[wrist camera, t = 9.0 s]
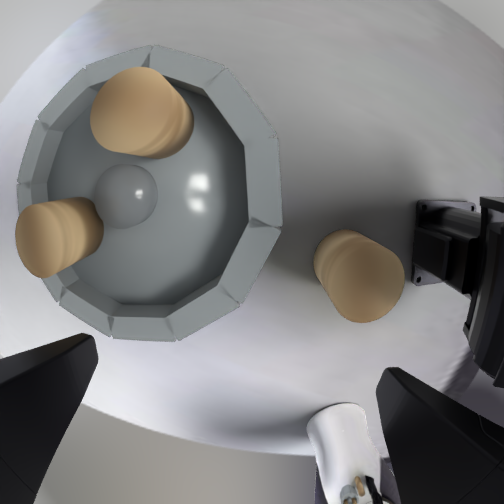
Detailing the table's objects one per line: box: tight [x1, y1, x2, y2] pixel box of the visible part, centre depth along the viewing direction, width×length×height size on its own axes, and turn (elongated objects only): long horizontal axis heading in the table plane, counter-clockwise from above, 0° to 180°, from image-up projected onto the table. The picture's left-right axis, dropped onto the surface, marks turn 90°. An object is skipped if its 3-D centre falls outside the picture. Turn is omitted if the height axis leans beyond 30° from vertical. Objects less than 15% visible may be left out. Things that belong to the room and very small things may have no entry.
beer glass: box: [307, 403, 401, 504], centre depth 16 cm, size 7×7×15 cm
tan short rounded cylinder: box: [15, 197, 104, 278], centre depth 15 cm, size 4×4×5 cm
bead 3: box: [313, 229, 405, 323], centre depth 16 cm, size 4×4×5 cm
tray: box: [17, 45, 283, 342], centre depth 16 cm, size 19×19×3 cm
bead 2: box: [90, 67, 194, 159], centre depth 13 cm, size 4×4×5 cm
